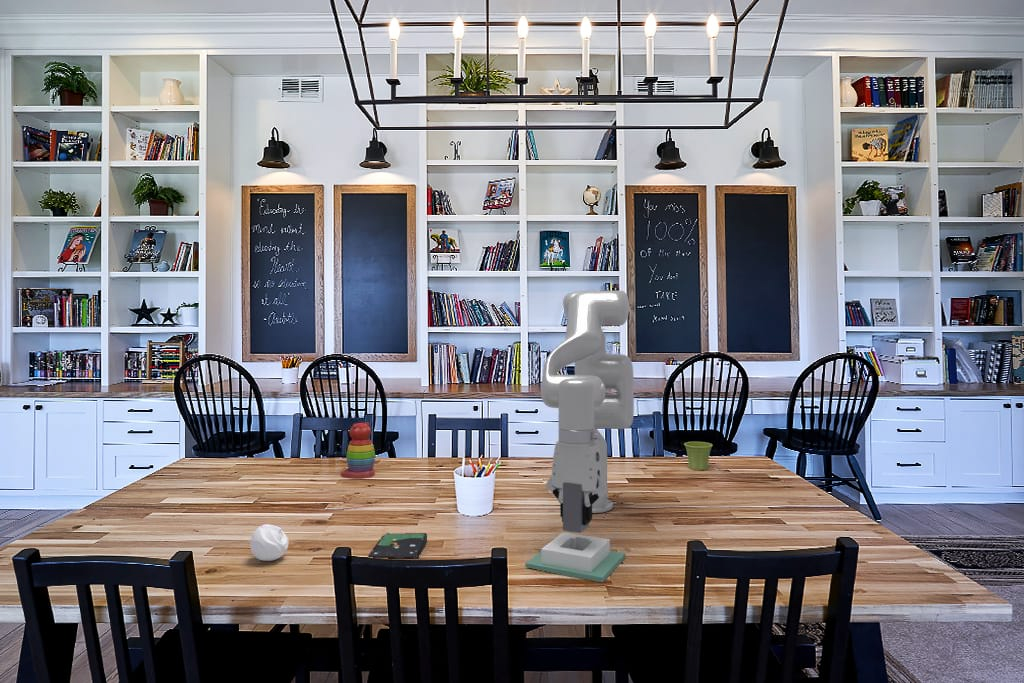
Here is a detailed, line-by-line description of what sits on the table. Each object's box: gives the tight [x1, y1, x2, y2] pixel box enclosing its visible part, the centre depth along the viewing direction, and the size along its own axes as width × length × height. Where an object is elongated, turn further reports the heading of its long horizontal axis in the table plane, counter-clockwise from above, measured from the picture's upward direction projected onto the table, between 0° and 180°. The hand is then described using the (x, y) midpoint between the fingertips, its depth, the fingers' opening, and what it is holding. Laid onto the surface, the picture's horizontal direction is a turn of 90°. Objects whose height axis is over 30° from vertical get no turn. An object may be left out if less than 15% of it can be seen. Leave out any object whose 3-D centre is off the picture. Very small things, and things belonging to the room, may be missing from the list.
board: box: [524, 531, 626, 584], centre depth 138 cm, size 15×17×4 cm
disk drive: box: [367, 532, 428, 560], centre depth 144 cm, size 10×3×15 cm
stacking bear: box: [340, 422, 376, 480], centre depth 216 cm, size 11×10×18 cm
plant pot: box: [683, 441, 713, 472], centre depth 224 cm, size 9×9×9 cm
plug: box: [562, 483, 590, 534], centre depth 137 cm, size 6×4×10 cm, turn 153°
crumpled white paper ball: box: [249, 524, 290, 562], centre depth 140 cm, size 8×8×8 cm
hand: (576, 521), depth 137 cm, fingers closed on plug, 4 cm apart
